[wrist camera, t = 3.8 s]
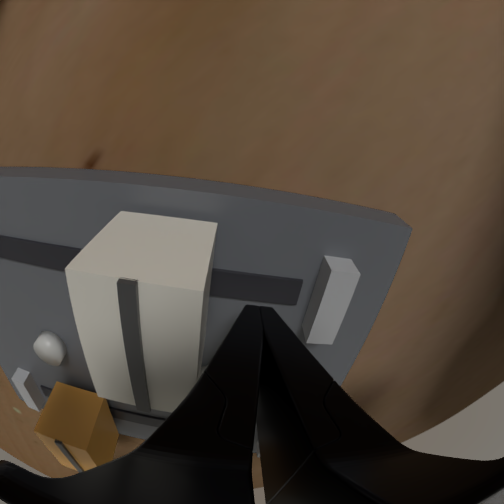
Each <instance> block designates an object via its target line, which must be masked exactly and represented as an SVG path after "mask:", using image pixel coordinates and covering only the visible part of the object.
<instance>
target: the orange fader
mask: <svg viewBox="0 0 504 504" xmlns="http://www.w3.org/2000/svg"><path fill="white" fill-rule="evenodd" d="M34 432H35V433H36V434H37V436H38V437H39V438H40V439H41V441H42V442H43V443H44V444H45V446H46V447H47V448H48V449H49V450H50V452H51V453H52V454H53V455H54V456H55V457H56V458H57V460H58V461H59V462H60V463H61V464H62V465H64V466H66V467H69V468H72V469H74V470H77V471H78V472H79V473H81V472H84V471H86V470H89V469H92V468H94V467H97V466H100V465H102V464H105V463H107V462H110V461H112V460H113V456H114V452H115V448H116V444H117V440H118V437H119V433H118V430H117V428H116V425H115V423H114V420H113V417H112V415H111V412H110V409H109V406H108V403H107V400H106V399H105V398H102V397H98V395H97V393H94V392H90V391H87V390H83V389H80V388H76V387H73V386H70V385H67V384H64V383H61V382H58V381H57V382H56V384H55V386H54V388H53V390H52V392H51V394H50V396H49V398H48V400H47V402H46V404H45V407H44V409H43V411H42V413H41V415H40V418H39V420H38V422H37V424H36V427H35V429H34Z"/></svg>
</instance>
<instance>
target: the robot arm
mask: <svg viewBox="0 0 504 504" xmlns="http://www.w3.org/2000/svg"><path fill="white" fill-rule="evenodd" d="M256 424H257V433H258V442H259V450H260V459H261V467H262V476H263V484H264V492H265V500H266V504H504V457H503V458H500V459H496V460H489V461H480V460H469V459H460V458H453V457H445V456H439V455H432V454H427V453H422V452H417V451H414V450H412V449H409V448H408V447H406V446H404V445H402V444H401V443H400V442H399V441H397V440H396V439H395V438H394V437H393V436H392V435H390V434H389V433H388V432H387V431H386V430H385V429H384V428H382V427H381V426H380V425H379V424H378V423H377V422H376V421H375V420H373V419H372V418H371V417H370V416H369V415H368V414H367V413H366V412H365V411H364V410H363V409H362V408H361V407H359V406H358V405H357V404H356V403H355V402H354V401H353V400H352V399H351V397H350V396H349V395H348V394H347V393H346V392H345V391H344V390H343V389H342V388H341V387H340V385H339V384H338V383H337V382H336V381H334V379H333V378H332V376H331V375H330V374H329V373H328V372H327V371H326V369H325V368H324V367H323V366H322V365H321V364H320V363H319V361H318V360H317V359H316V358H315V357H314V356H313V354H312V353H311V352H310V351H309V350H308V349H307V347H306V346H305V345H304V344H303V343H302V342H301V340H300V339H299V338H298V337H297V336H296V334H295V333H294V332H293V331H292V330H291V329H290V327H289V326H288V325H287V324H286V323H285V322H284V320H283V319H282V318H281V317H280V316H279V314H278V313H277V312H276V311H275V310H274V309H273V308H272V307H267V306H257V305H248V304H247V305H245V306H244V308H243V309H242V311H241V313H240V314H239V316H238V318H237V319H236V321H235V322H234V324H233V326H232V327H231V329H230V330H229V332H228V334H227V335H226V337H225V338H224V340H223V342H222V343H221V345H220V346H219V348H218V349H217V351H216V353H215V354H214V356H213V357H212V359H211V361H210V362H209V364H208V365H207V367H206V368H205V370H204V372H203V373H202V374H201V376H200V377H199V379H198V381H197V382H196V384H195V385H194V386H193V388H192V389H191V391H190V392H189V393H188V395H187V396H186V397H185V398H184V400H183V401H182V402H181V403H180V404H179V405H178V407H177V408H176V409H175V410H174V411H173V412H172V413H171V414H170V415H169V416H168V417H167V419H166V420H165V421H164V422H163V423H162V424H161V425H160V426H159V427H158V428H157V429H156V430H155V431H154V432H153V433H152V434H151V435H150V436H149V437H148V438H147V439H146V440H145V441H144V442H143V443H142V444H141V445H140V446H139V447H137V448H136V449H135V450H133V451H132V452H130V453H128V454H126V455H124V456H122V457H120V458H117V459H115V460H112V461H110V462H107V463H105V464H102V465H100V466H97V467H94V468H92V469H89V470H86V471H84V472H81V473H78V474H75V475H72V476H68V477H64V478H47V477H42V476H39V475H36V474H34V473H32V472H29V471H27V470H26V469H23V468H21V467H19V466H17V465H15V464H13V463H11V462H8V461H5V460H1V461H0V499H1V500H2V501H4V502H6V503H7V504H255V502H254V491H253V481H252V456H253V447H254V437H255V427H256Z"/></svg>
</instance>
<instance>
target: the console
mask: <svg viewBox="0 0 504 504" xmlns="http://www.w3.org/2000/svg"><path fill="white" fill-rule="evenodd" d="M120 211H126V212H135V213H143V214H152V215H160V216H168V217H176V218H184V219H192V220H199V221H207V222H214V223H218V225H217V233H216V241H215V249H214V257H213V266H212V275H211V284H210V293H209V303H208V313H207V323H206V334H205V342H204V349H203V356H202V364H201V371H200V376H201V374H202V373H203V372H204V370H205V368H206V367H207V365H208V364H209V362H210V361H211V359H212V357H213V356H214V354H215V353H216V351H217V349H218V348H219V346H220V345H221V343H222V342H223V340H224V338H225V337H226V335H227V334H228V332H229V330H230V329H231V327H232V326H233V324H234V322H235V321H236V319H237V318H238V316H239V314H240V313H241V311H242V309H243V308H244V306H245V305H247V304H248V305H257V306H267V307H272V308H273V309H274V310H275V311H276V312H277V313H278V314H279V316H280V317H281V318H282V319H283V320H284V322H285V323H286V324H287V325H288V326H289V327H290V329H291V330H292V331H293V332H294V333H295V334H296V336H297V337H298V338H299V339H300V340H301V342H302V343H303V344H304V345H305V346H306V347H307V349H308V350H309V351H310V352H311V353H312V354H313V356H314V357H315V358H316V359H317V360H318V361H319V363H320V364H321V365H322V366H323V367H324V368H325V369H326V371H327V372H328V373H329V374H330V375H331V376H332V378H333V379H334V381H336V382H337V383H338V384H339V385H340V386H341V384H342V382H343V381H344V379H345V377H346V375H347V374H348V372H349V370H350V368H351V366H352V365H353V363H354V361H355V359H356V357H357V355H358V353H359V351H360V349H361V348H362V346H363V344H364V342H365V340H366V338H367V336H368V334H369V332H370V330H371V328H372V325H373V323H374V321H375V319H376V317H377V315H378V313H379V311H380V308H381V306H382V304H383V302H384V300H385V297H386V295H387V293H388V290H389V288H390V286H391V283H392V281H393V279H394V276H395V274H396V271H397V269H398V266H399V264H400V261H401V259H402V256H403V253H404V251H405V248H406V245H407V243H408V240H409V237H410V234H411V231H412V228H411V227H410V226H409V225H408V224H407V223H405V222H404V221H403V220H402V219H401V218H399V217H398V216H397V215H396V214H394V213H390V212H386V211H381V210H377V209H372V208H368V207H363V206H358V205H353V204H349V203H344V202H339V201H333V200H328V199H323V198H318V197H312V196H307V195H301V194H296V193H290V192H284V191H278V190H272V189H265V188H259V187H252V186H246V185H239V184H232V183H225V182H217V181H209V180H201V179H193V178H184V177H176V176H166V175H156V174H146V173H134V172H122V171H109V170H93V169H75V168H50V167H0V365H1V367H2V369H3V371H4V372H5V374H6V376H7V378H8V380H9V381H10V383H11V385H12V387H13V388H14V390H15V392H16V393H17V395H18V396H19V398H20V399H21V400H23V401H25V403H26V404H27V406H28V407H30V408H32V409H35V410H37V411H39V412H40V410H41V408H42V409H44V407H45V404H46V402H47V400H48V398H49V396H50V394H51V392H52V390H53V388H54V386H55V384H56V382H57V381H58V382H61V383H64V384H67V385H70V386H73V387H76V388H80V389H83V390H87V391H90V392H94V393H96V390H95V387H94V384H93V381H92V378H91V375H90V372H89V369H88V366H87V362H86V359H85V356H84V352H83V349H82V345H81V342H80V338H79V334H78V330H77V326H76V322H75V318H74V314H73V309H72V304H71V300H70V295H69V290H68V284H67V279H66V273H65V268H66V267H67V265H68V264H69V263H70V262H71V261H72V260H73V259H74V258H75V257H76V256H77V255H78V254H79V252H80V251H81V250H82V249H83V248H84V247H85V246H86V245H87V244H88V243H89V242H90V241H91V240H92V239H93V238H94V237H95V236H96V235H97V234H98V233H99V232H100V231H101V230H102V229H103V228H104V227H105V226H106V225H107V224H108V223H109V222H110V221H111V220H112V219H113V218H114V217H115V216H116V215H117V214H118V213H119V212H120ZM106 400H107V403H108V406H109V409H110V412H111V415H112V417H113V420H114V423H115V425H116V428H117V430H118V433H119V434H123V435H127V436H131V437H135V438H140V439H145V440H146V439H147V438H148V437H149V436H150V435H151V434H152V433H153V432H154V431H155V430H156V429H157V428H158V427H159V426H160V425H161V424H162V423H163V422H164V421H165V420H166V419H167V417H168V416H169V415H170V414H171V412H165V411H160V410H154V409H151V411H150V413H148V412H143V411H139V410H137V408H136V406H135V405H130V404H126V403H122V402H117V401H113V400H109V399H106ZM253 453H257V457H260V450H259V442H258V433H257V424H256V427H255V437H254V447H253Z"/></svg>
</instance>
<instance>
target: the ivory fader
mask: <svg viewBox="0 0 504 504" xmlns="http://www.w3.org/2000/svg"><path fill="white" fill-rule="evenodd" d="M217 225H218V223H214V222H207V221H199V220H192V219H184V218H176V217H168V216H160V215H152V214H143V213H135V212H126V211H120V212H119V213H118V214H117V215H116V216H115V217H114V218H113V219H112V220H111V221H110V222H109V223H108V224H107V225H106V226H105V227H104V228H103V229H102V230H101V231H100V232H99V233H98V234H97V235H96V236H95V237H94V238H93V239H92V240H91V241H90V242H89V243H88V244H87V245H86V246H85V247H84V248H83V249H82V250H81V251H80V252H79V254H78V255H77V256H76V257H75V258H74V259H73V260H72V261H71V262H70V263H69V264H68V265H67V267H66V268H65V273H66V279H67V284H68V290H69V295H70V300H71V304H72V309H73V314H74V318H75V322H76V326H77V330H78V334H79V338H80V342H81V345H82V349H83V352H84V356H85V359H86V362H87V366H88V369H89V372H90V375H91V378H92V381H93V384H94V387H95V390H96V393H97V395H98V397H102V398H105V399H109V400H113V401H117V402H122V403H126V404H130V405H135V406H136V408H137V410H139V411H143V412H148V413H150V411H151V409H154V410H160V411H165V412H171V413H172V412H173V411H174V410H175V409H176V408H177V407H178V405H179V404H180V403H181V402H182V401H183V400H184V398H185V397H186V396H187V395H188V393H189V392H190V391H191V389H192V388H193V386H194V385H195V384H196V382H197V381H198V379H199V377H200V371H201V364H202V356H203V349H204V342H205V334H206V323H207V313H208V303H209V293H210V284H211V275H212V266H213V257H214V249H215V241H216V233H217Z"/></svg>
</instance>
